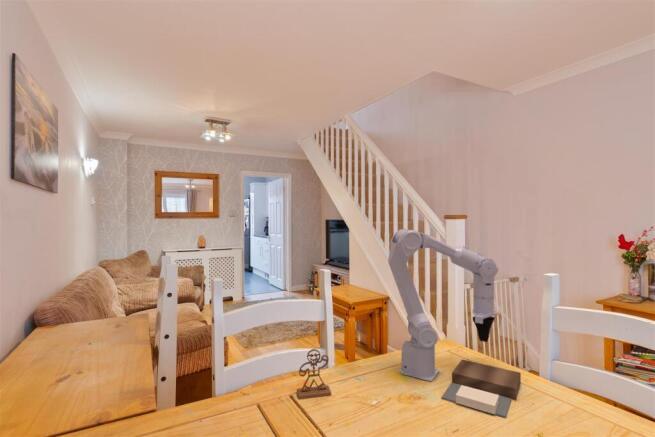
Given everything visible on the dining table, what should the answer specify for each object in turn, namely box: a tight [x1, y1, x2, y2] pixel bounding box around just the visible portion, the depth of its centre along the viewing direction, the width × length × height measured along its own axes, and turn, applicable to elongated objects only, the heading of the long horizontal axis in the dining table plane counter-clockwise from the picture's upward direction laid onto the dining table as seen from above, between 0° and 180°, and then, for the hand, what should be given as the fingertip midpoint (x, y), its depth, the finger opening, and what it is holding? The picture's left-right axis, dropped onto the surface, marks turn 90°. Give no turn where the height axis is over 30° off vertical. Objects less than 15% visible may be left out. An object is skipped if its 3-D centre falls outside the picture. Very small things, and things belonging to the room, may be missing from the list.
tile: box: [455, 385, 499, 415], centre depth 85 cm, size 9×6×2 cm, turn 55°
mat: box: [441, 382, 512, 419], centre depth 87 cm, size 15×10×1 cm, turn 55°
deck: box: [451, 359, 522, 401], centre depth 96 cm, size 16×11×3 cm
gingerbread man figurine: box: [296, 348, 332, 400], centre depth 91 cm, size 9×4×12 cm, turn 102°
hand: (483, 340), depth 103 cm, fingers closed
